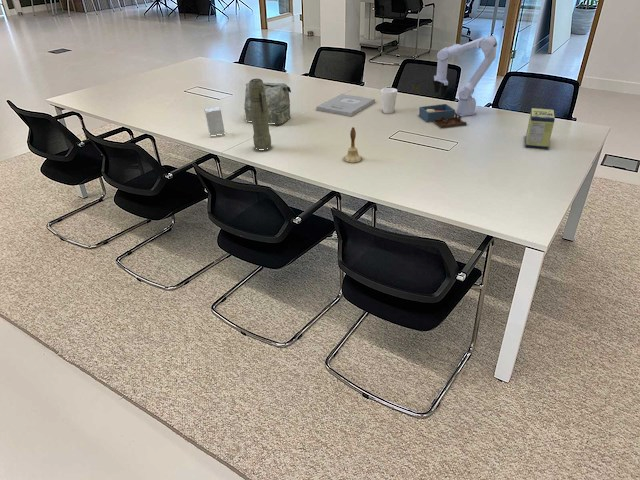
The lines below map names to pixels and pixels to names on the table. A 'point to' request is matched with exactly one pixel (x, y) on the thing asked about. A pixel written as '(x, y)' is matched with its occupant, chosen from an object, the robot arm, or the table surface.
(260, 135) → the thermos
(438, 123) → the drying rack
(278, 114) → the lunch bag
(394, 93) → the foam cup
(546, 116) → the protein box
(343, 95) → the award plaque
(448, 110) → the wash tub
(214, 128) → the cosmetic box
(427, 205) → the table surface
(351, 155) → the hand bell
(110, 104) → the table surface
